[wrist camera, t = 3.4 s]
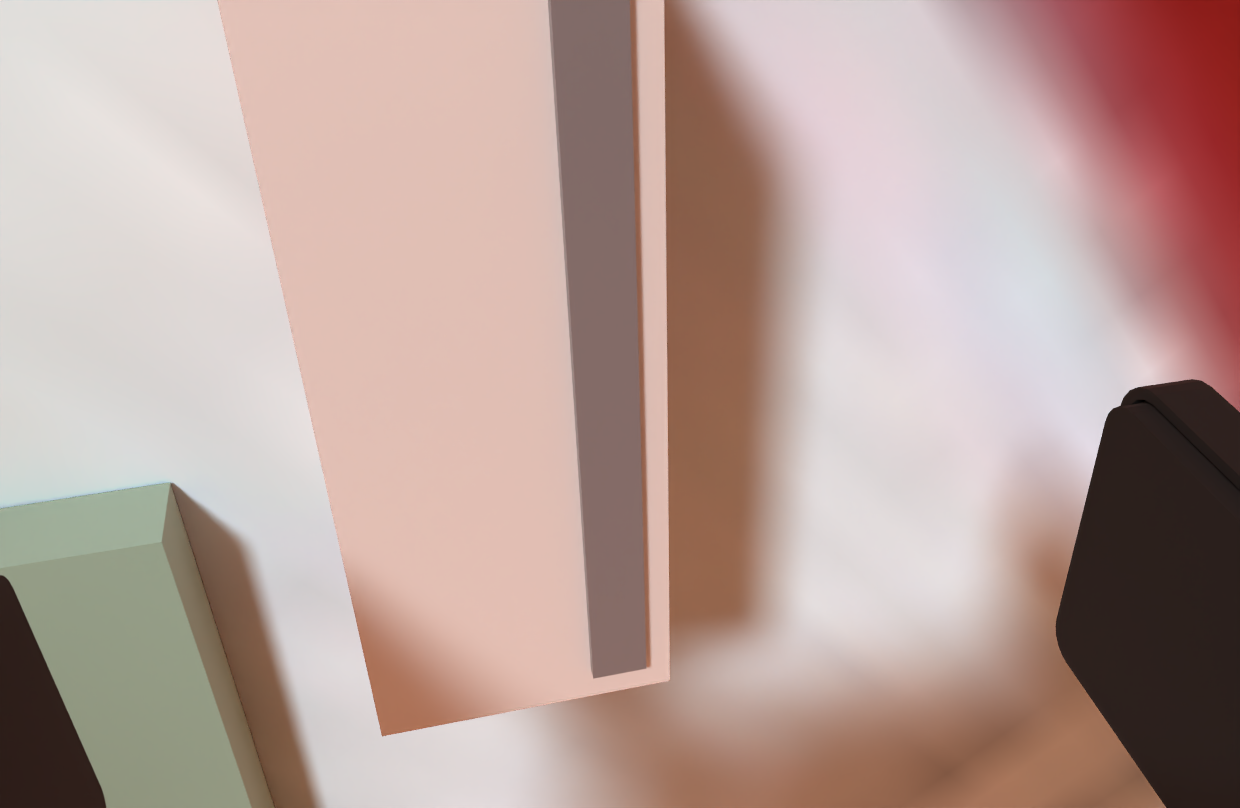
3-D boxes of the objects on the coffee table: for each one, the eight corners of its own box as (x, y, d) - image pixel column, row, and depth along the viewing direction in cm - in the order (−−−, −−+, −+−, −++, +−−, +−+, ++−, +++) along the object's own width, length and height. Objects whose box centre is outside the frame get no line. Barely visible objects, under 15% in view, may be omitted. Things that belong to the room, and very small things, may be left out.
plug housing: (228, -221, 14) (188, -114, 9) (544, -241, 15) (667, -150, 10) (362, 457, 20) (382, 746, 15) (583, 422, 21) (673, 689, 16)
